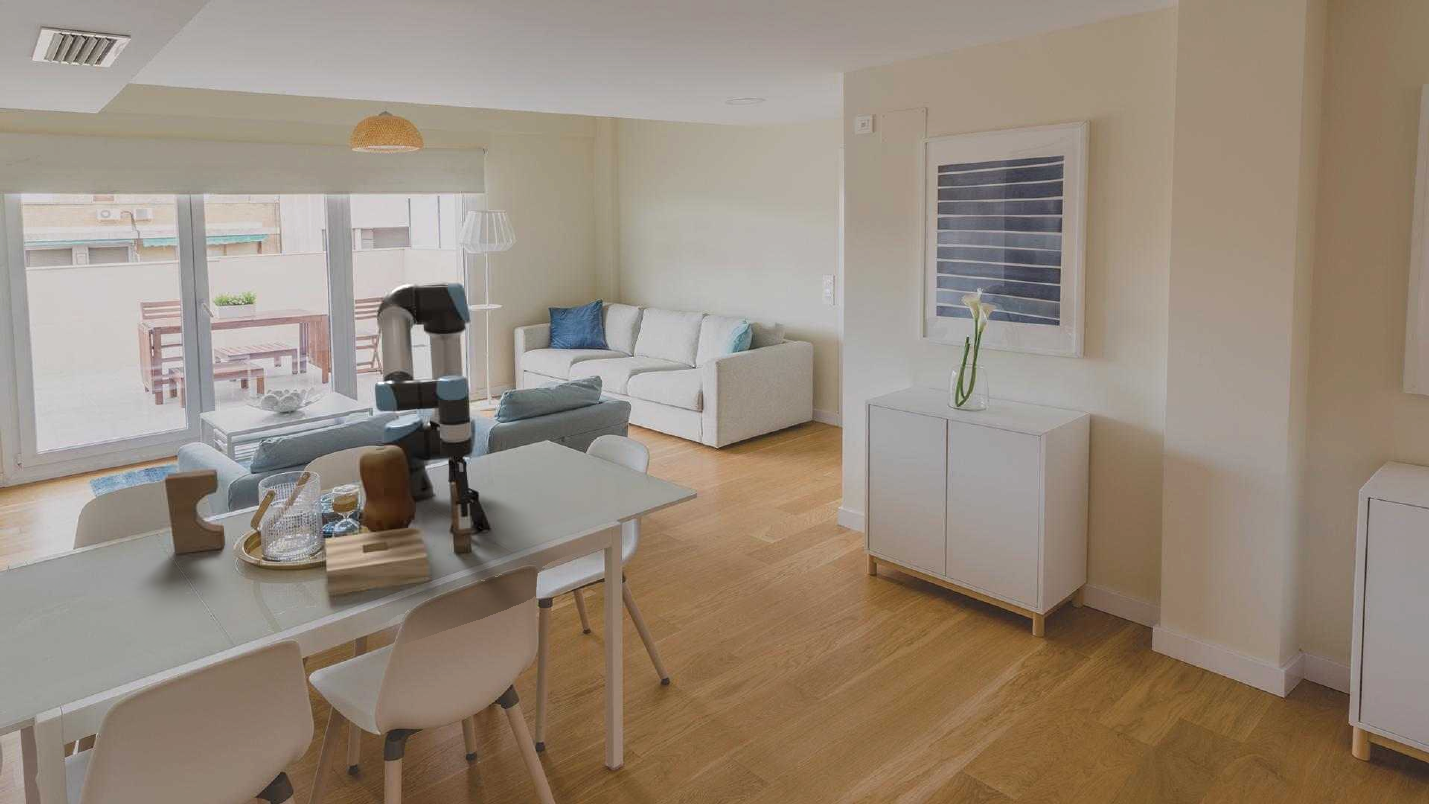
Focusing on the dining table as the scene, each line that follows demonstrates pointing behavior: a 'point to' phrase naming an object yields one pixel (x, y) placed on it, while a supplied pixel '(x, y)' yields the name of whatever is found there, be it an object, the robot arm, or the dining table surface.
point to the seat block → (375, 560)
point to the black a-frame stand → (476, 514)
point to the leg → (459, 535)
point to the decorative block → (192, 511)
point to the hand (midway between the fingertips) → (460, 519)
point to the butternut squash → (386, 489)
